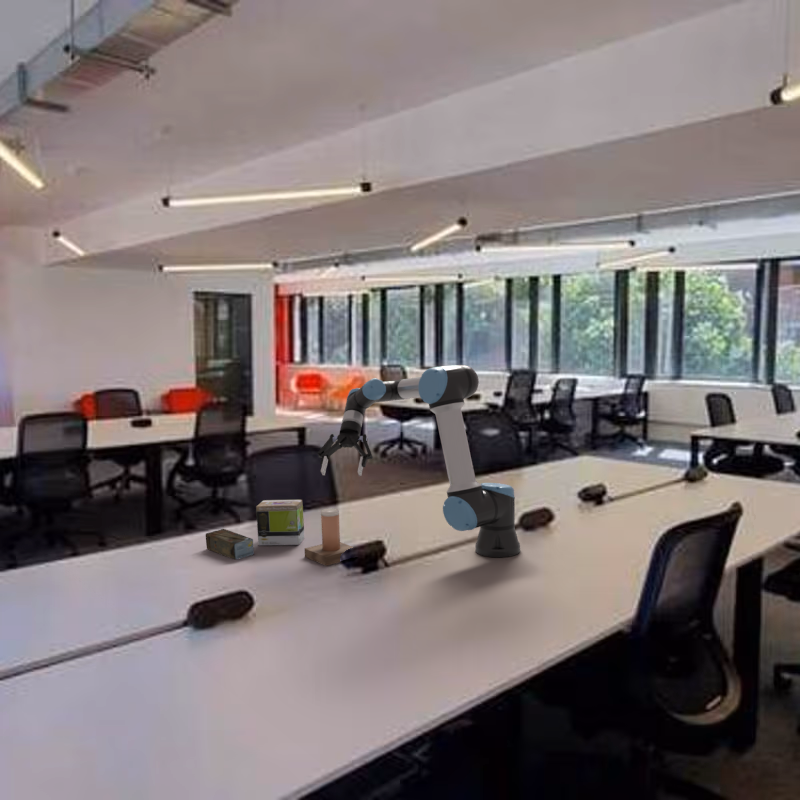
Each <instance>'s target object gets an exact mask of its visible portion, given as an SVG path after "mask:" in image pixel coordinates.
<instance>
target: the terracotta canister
mask: <svg viewBox="0 0 800 800" xmlns="http://www.w3.org/2000/svg"><path fill="white" fill-rule="evenodd" d="M320 515H321V516H320V518H321V520H320V523H321V524H320V525H321V542H322V543H321V544H322V549H323V550H324V551H336V550H339V549H340V542H341V532H340V531H341V530H340V509H338V508H324V509H322V510H321V511H320Z"/></svg>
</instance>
